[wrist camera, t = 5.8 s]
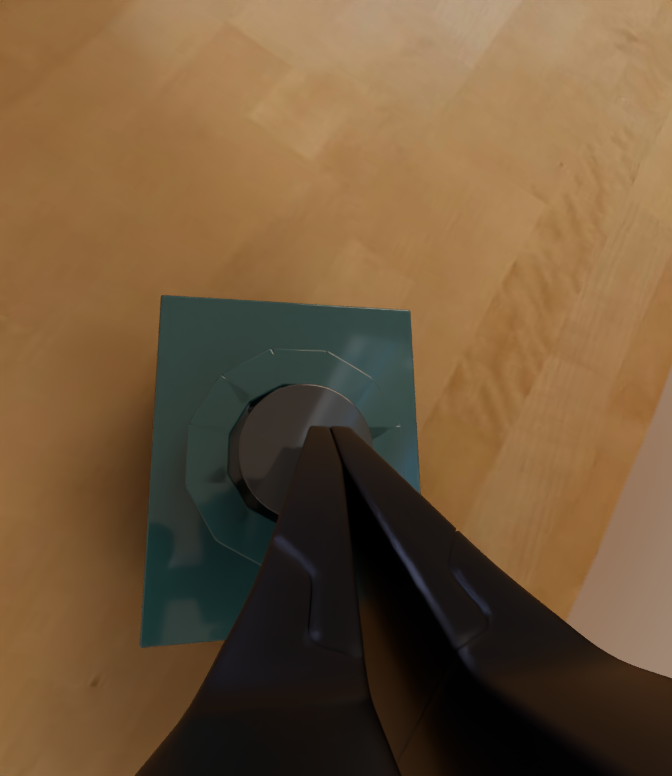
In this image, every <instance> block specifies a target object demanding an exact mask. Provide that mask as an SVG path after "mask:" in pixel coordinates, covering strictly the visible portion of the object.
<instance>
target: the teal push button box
mask: <svg viewBox="0 0 672 776" xmlns="http://www.w3.org/2000/svg"><path fill="white" fill-rule="evenodd" d="M306 383H308V384H317V385H322V386H325V387H328V388H331V389H333V390H335V391H337V392H339V393H341V394H342V395H344V396H345V397H347V398H348V399H349V400H350V401H351V402H352V403H353V404H354V405H355V406H356V407H357V408H358V409H359V411H360V412H361V414H362V415H363V417H364V419H365V421H366V423H367V425H368V427H369V430H370V433H371V438H372V443H373V449H374V450H375V451H376V452H377V453H378V454H379V455H380V456H381V457H382V458H383V459H384V460H385V461H386V462H387V463H388V464H389V465H390V466H391V467H392V468H393V469H395V470H396V471H397V472H398V473H399V474H400V475H401V476H402V477H403V478H404V479H405V480H406V481H407V482H408V483H409V484H410V485H411V486H412V487H413V488H414V489H415V490H416V491H417V492H419V493H420V476H419V458H418V440H417V422H416V405H415V387H414V369H413V351H412V333H411V315H410V310H399V309H382V308H366V307H349V306H333V305H317V304H300V303H284V302H268V301H251V300H235V299H218V298H202V297H186V296H169V295H162V296H161V304H160V320H159V337H158V353H157V369H156V386H155V402H154V419H153V435H152V451H151V468H150V484H149V501H148V517H147V534H146V550H145V566H144V583H143V599H142V616H141V632H140V647H141V648H146V647H157V646H168V645H179V644H190V643H201V642H212V641H223V640H226V638H227V636H228V634H229V632H230V630H231V628H232V627H233V625H234V623H235V621H236V619H237V617H238V615H239V613H240V611H241V609H242V607H243V605H244V603H245V601H246V599H247V597H248V595H249V593H250V590H251V588H252V586H253V584H254V582H255V580H256V577H257V575H258V572H259V570H260V567H261V564H262V562H263V559H264V557H265V554H266V551H267V548H268V545H269V542H270V540H271V537H272V534H273V531H274V528H275V525H276V522H277V520H278V517H279V515H278V514H276V513H274V512H272V511H271V510H269V509H268V508H266V507H265V506H264V505H262V504H261V503H260V502H259V501H258V500H257V499H256V498H255V497H254V496H253V495H252V493H251V492H250V491H249V489H248V488H247V486H246V485H245V482H244V480H243V478H242V475H241V472H240V468H239V460H238V446H239V439H240V434H241V431H242V428H243V425H244V423H245V421H246V419H247V417H248V416H249V414H250V413H251V411H252V410H253V408H254V407H255V406H256V405H257V404H258V403H259V402H260V401H261V400H262V399H264V398H265V397H266V396H268V395H269V394H271V393H272V392H274V391H276V390H278V389H280V388H283V387H286V386H289V385H295V384H306Z"/></svg>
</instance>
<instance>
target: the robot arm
mask: <svg viewBox="0 0 672 776" xmlns="http://www.w3.org/2000/svg"><path fill="white" fill-rule="evenodd" d="M135 776H672V678H669V677H666V676H662V675H660V674H657V673H654V672H650V671H648V670H644V669H641V668H639V667H636V666H633V665H631V664H628V663H626V662H624V661H622V660H619V659H617V658H615V657H614V656H612V655H610V654H608V653H607V652H605V651H603V650H602V649H600V648H598V647H597V646H596V645H594V644H593V643H591V642H590V641H589V640H587V639H586V638H585V637H584V636H582V635H581V634H580V633H578V632H577V631H576V630H575V629H573V628H572V627H571V626H570V625H569V624H567V623H566V622H565V621H564V620H562V619H561V618H560V617H559V616H557V615H556V614H555V613H554V612H552V611H551V610H550V609H549V608H547V607H546V606H545V605H544V604H542V603H541V602H540V601H539V600H537V599H536V598H535V597H534V596H533V595H531V594H530V593H529V592H528V591H526V590H525V589H524V588H523V587H521V586H520V585H519V584H518V583H517V582H515V581H514V580H513V579H512V578H511V577H509V576H508V575H507V574H506V573H505V572H503V571H502V570H501V569H500V568H499V567H497V566H496V565H495V564H494V563H493V562H492V561H491V560H489V559H488V558H487V557H486V556H485V555H484V554H483V553H482V552H481V551H480V550H479V549H477V548H476V547H475V546H474V545H473V544H472V543H471V542H470V541H469V540H468V539H467V538H466V537H465V536H464V535H463V534H462V533H461V532H459V531H456V528H455V527H454V526H453V525H452V524H451V523H450V522H449V521H448V520H447V519H446V518H445V517H444V516H443V515H442V514H440V513H439V512H438V511H437V510H436V509H435V508H434V507H433V506H432V505H431V504H430V503H429V502H428V501H427V500H426V499H425V498H424V497H423V496H422V495H421V494H420V493H419V492H417V491H416V490H415V489H414V488H413V487H412V486H411V485H410V484H409V483H408V482H407V481H406V480H405V479H404V478H403V477H402V476H401V475H400V474H399V473H398V472H397V471H396V470H395V469H393V468H392V467H391V466H390V465H389V464H388V463H387V462H386V461H385V460H384V459H383V458H382V457H381V456H380V455H379V454H378V453H377V452H376V451H375V450H374V449H373V448H372V447H370V446H369V445H368V444H367V443H366V442H365V441H364V440H363V439H362V438H361V437H360V436H359V435H358V434H357V433H356V432H355V431H354V430H353V429H352V428H351V427H349V426H331V427H330V428H329V427H328V426H310V427H309V429H308V432H307V435H306V438H305V441H304V444H303V447H302V450H301V452H300V455H299V458H298V461H297V464H296V467H295V470H294V473H293V476H292V479H291V482H290V485H289V487H288V490H287V493H286V496H285V499H284V502H283V505H282V508H281V511H280V514H279V517H278V520H277V522H276V525H275V528H274V531H273V534H272V537H271V540H270V542H269V545H268V548H267V551H266V554H265V557H264V559H263V562H262V564H261V567H260V570H259V572H258V575H257V577H256V580H255V582H254V584H253V586H252V588H251V590H250V593H249V595H248V597H247V599H246V601H245V603H244V605H243V607H242V609H241V611H240V613H239V615H238V617H237V619H236V621H235V623H234V625H233V627H232V628H231V630H230V632H229V634H228V636H227V638H226V640H225V642H224V644H223V646H222V648H221V649H220V651H219V653H218V655H217V657H216V659H215V661H214V663H213V665H212V667H211V669H210V671H209V672H208V674H207V676H206V678H205V680H204V682H203V683H202V685H201V687H200V689H199V690H198V692H197V694H196V696H195V697H194V699H193V701H192V702H191V704H190V706H189V707H188V709H187V710H186V712H185V713H184V715H183V716H182V718H181V719H180V721H179V722H178V724H177V725H176V726H175V727H174V729H173V730H172V731H171V732H170V733H169V735H168V736H167V737H166V738H165V739H164V741H163V742H162V743H161V744H160V745H159V747H158V748H157V749H156V750H155V751H154V753H153V754H152V755H151V756H150V758H149V759H148V760H147V761H146V762H145V764H144V765H143V766H142V767H141V768H140V770H139V771H138V772H137V773H136V774H135Z"/></svg>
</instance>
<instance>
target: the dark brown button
mask: <svg viewBox="0 0 672 776" xmlns="http://www.w3.org/2000/svg"><path fill="white" fill-rule="evenodd" d="M310 426H328V427H329V428H330V427H331V426H349V427H351V428H352V429H353V430H354V431H355V432H356V433H357V434H358V435H359V436H360V437H361V438H362V439H363V440H364V441H365V442H366V443H367V444H368V445H369V446H370V447H372V448H373V443H372V438H371V433H370V430H369V427H368V425H367V423H366V421H365V419H364V417H363V415H362V414H361V412H360V411H359V409H358V408H357V407H356V406H355V405H354V404H353V403H352V402H351V401H350V400H349V399H348V398H347V397H345V396H344V395H342V394H341V393H339V392H337V391H335V390H333V389H331V388H328V387H325V386H322V385H317V384H308V383H306V384H295V385H289V386H286V387H283V388H280V389H278V390H276V391H274V392H272V393H271V394H269V395H268V396H266V397H265V398H264V399H262V400H261V401H260V402H259V403H258V404H257V405H256V406H255V407H254V408H253V410H252V411H251V413H250V414H249V416H248V417H247V419H246V421H245V423H244V425H243V428H242V431H241V434H240V439H239V446H238V460H239V468H240V472H241V475H242V478H243V480H244V482H245V485H246V486H247V488H248V489H249V491H250V492H251V493H252V495H253V496H254V497H255V498H256V499H257V500H258V501H259V502H260V503H261V504H262V505H264V506H265V507H266V508H268V509H269V510H271V511H272V512H274V513H276V514H278V515H279V514H280V511H281V508H282V505H283V502H284V499H285V496H286V493H287V490H288V487H289V485H290V482H291V479H292V476H293V473H294V470H295V467H296V464H297V461H298V458H299V455H300V452H301V450H302V447H303V444H304V441H305V438H306V435H307V432H308V429H309V427H310Z"/></svg>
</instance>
